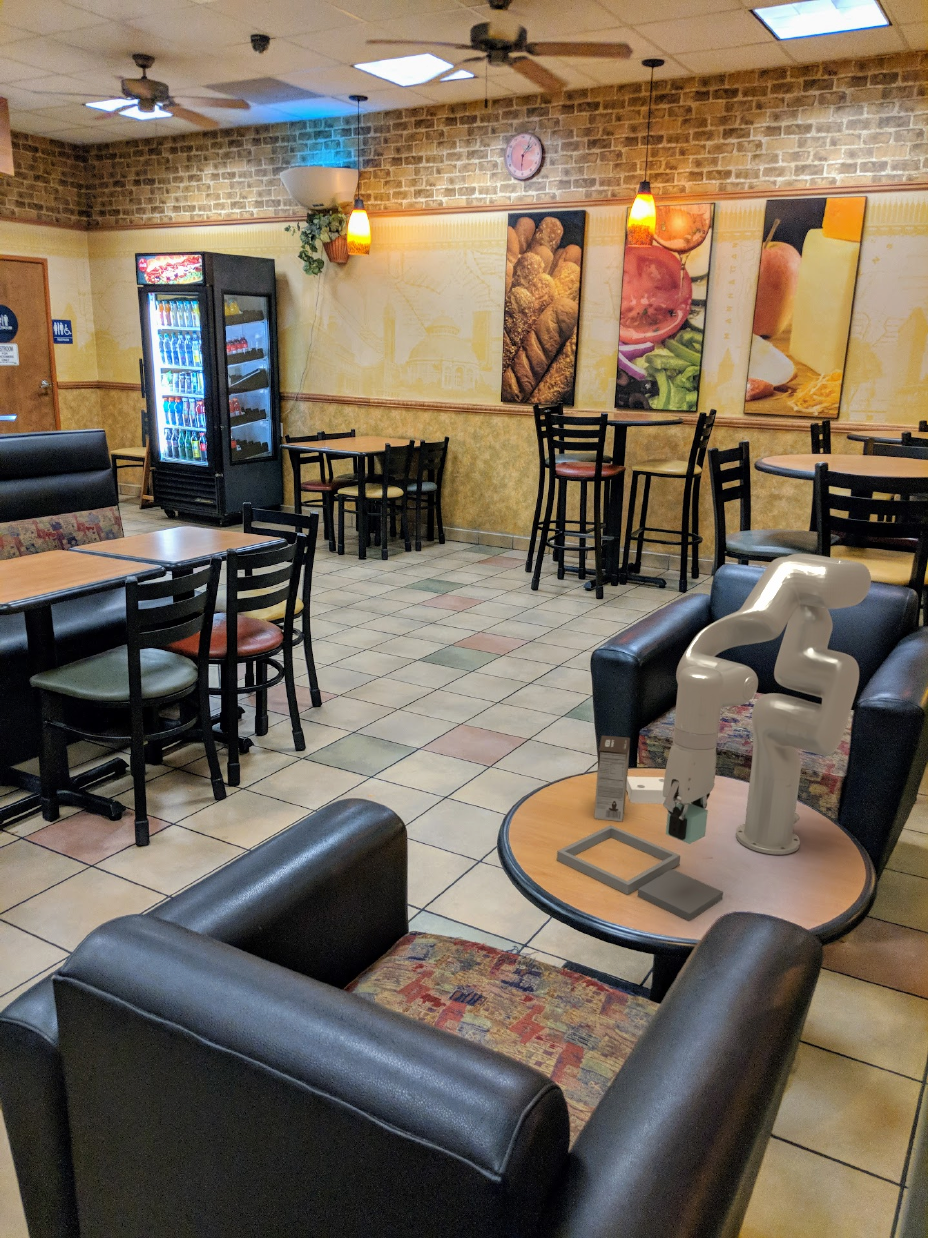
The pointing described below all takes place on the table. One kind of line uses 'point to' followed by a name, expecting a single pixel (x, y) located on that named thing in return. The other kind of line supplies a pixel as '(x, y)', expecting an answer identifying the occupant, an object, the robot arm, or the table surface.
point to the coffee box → (612, 778)
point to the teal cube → (692, 823)
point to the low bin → (607, 878)
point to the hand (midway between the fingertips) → (685, 831)
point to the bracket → (646, 790)
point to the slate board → (680, 894)
